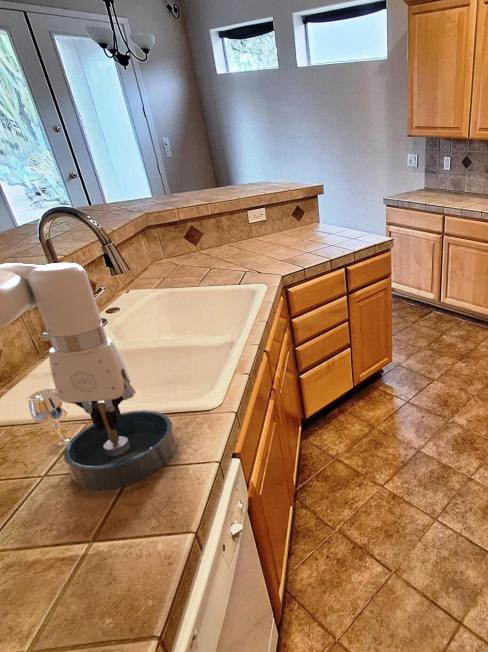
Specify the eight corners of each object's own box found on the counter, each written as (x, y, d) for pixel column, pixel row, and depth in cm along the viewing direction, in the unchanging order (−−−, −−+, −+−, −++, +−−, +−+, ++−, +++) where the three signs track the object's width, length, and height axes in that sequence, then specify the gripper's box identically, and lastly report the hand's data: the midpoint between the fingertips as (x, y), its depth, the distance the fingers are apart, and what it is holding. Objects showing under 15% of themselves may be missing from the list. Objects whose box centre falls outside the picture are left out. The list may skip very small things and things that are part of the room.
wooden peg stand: (101, 457, 81) (84, 409, 76) (111, 443, 84) (94, 397, 80) (124, 455, 81) (108, 407, 77) (133, 441, 85) (118, 395, 80)
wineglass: (39, 450, 86) (17, 399, 81) (67, 433, 91) (48, 384, 86) (60, 456, 85) (38, 405, 79) (87, 438, 90) (69, 390, 84)
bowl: (53, 498, 75) (42, 474, 73) (100, 435, 91) (92, 414, 88) (160, 487, 78) (153, 464, 75) (188, 428, 93) (182, 407, 91)
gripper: (13, 350, 68) (52, 442, 76) (120, 344, 70) (147, 435, 78) (41, 331, 75) (74, 417, 83) (137, 326, 77) (161, 411, 85)
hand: (109, 425), depth 80 cm, fingers closed on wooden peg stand, 1 cm apart
